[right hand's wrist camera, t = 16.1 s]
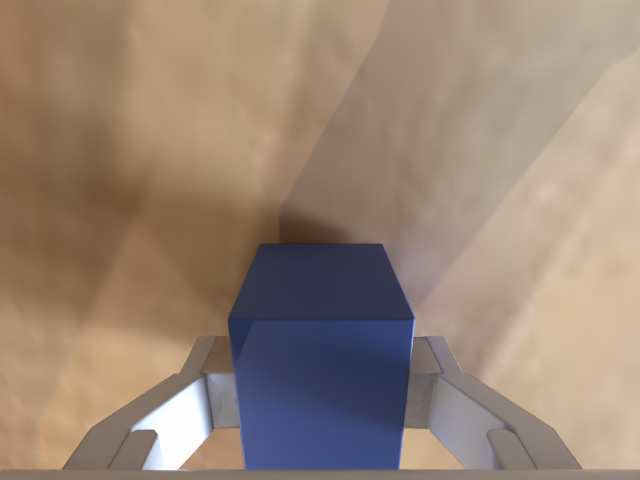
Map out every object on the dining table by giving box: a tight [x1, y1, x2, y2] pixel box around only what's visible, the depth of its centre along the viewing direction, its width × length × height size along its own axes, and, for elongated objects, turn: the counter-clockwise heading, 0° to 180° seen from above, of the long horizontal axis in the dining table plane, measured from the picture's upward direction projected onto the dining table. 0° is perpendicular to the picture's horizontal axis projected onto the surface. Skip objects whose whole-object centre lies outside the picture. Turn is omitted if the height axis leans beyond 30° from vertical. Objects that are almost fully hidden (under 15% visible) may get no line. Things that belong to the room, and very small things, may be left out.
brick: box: [228, 244, 415, 470], centre depth 11 cm, size 4×5×4 cm
